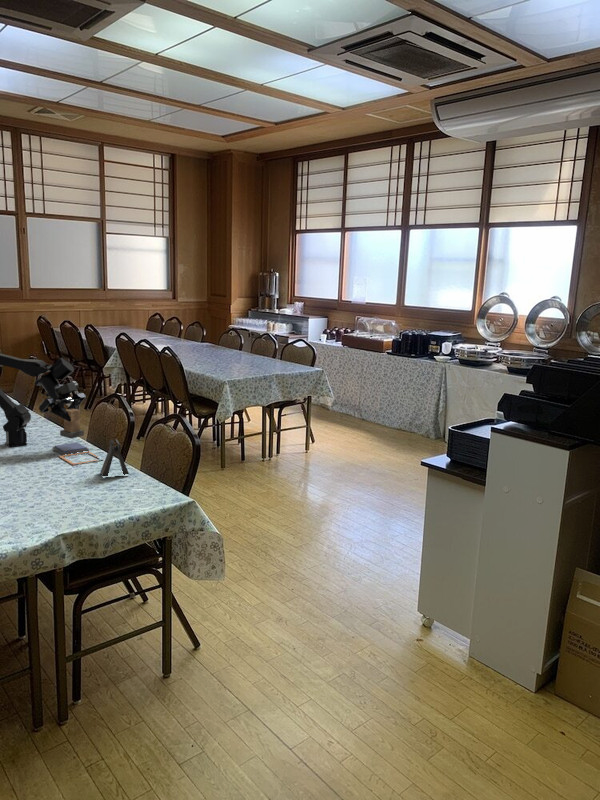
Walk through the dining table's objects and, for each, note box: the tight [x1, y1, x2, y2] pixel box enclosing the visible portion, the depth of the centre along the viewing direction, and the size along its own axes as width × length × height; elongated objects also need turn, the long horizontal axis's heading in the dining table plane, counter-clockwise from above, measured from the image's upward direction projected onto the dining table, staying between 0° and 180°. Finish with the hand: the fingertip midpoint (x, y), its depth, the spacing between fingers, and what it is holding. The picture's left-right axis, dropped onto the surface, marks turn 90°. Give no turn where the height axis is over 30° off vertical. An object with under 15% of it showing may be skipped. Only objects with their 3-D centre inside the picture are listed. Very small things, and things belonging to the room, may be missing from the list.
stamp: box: [59, 408, 85, 439], centre depth 231 cm, size 6×6×10 cm
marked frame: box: [58, 450, 98, 466], centre depth 224 cm, size 12×13×1 cm
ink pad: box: [52, 442, 90, 455], centre depth 234 cm, size 10×10×2 cm
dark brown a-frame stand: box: [100, 438, 130, 477], centre depth 207 cm, size 9×6×12 cm, turn 112°
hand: (74, 419), depth 230 cm, fingers closed on stamp, 4 cm apart
